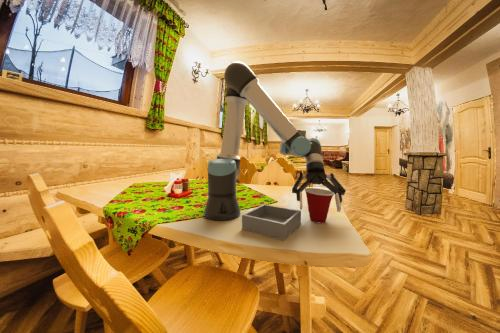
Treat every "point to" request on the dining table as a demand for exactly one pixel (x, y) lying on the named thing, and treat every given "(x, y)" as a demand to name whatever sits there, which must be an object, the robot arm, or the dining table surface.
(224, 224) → the dining table surface
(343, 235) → the dining table surface
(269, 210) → the bin
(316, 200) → the plastic cup
